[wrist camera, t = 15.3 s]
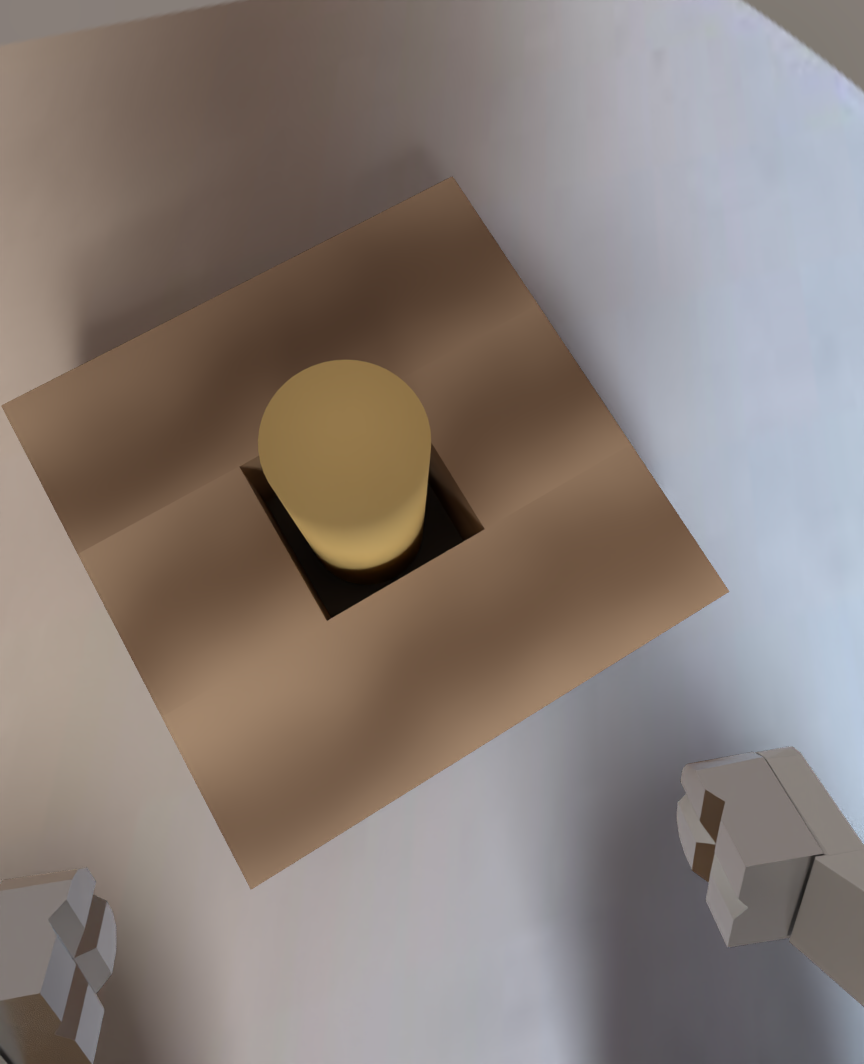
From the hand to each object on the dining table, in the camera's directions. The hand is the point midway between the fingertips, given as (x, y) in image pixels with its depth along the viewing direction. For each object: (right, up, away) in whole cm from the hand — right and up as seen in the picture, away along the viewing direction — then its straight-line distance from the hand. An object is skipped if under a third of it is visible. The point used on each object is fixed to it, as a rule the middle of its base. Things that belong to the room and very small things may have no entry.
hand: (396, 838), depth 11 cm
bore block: (-2, +4, +19) cm, 19 cm away
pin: (-2, +4, +17) cm, 18 cm away
